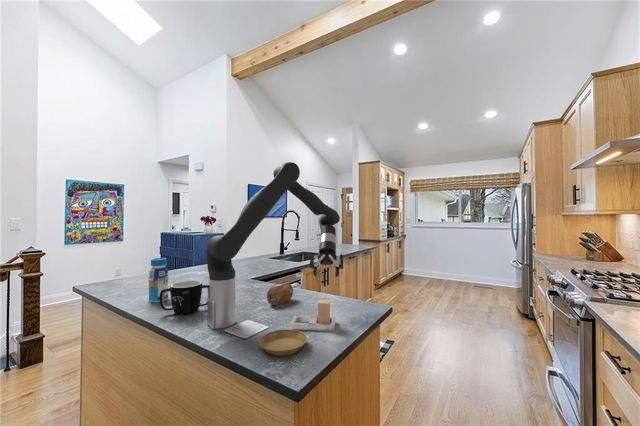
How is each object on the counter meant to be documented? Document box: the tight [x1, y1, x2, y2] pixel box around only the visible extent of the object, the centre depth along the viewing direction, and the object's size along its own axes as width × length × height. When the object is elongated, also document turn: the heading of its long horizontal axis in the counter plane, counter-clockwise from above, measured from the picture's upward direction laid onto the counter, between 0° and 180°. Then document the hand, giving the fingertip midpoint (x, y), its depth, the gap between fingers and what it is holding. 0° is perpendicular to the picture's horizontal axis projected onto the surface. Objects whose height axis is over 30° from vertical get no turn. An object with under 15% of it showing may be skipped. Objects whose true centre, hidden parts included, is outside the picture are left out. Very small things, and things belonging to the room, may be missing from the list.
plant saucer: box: [258, 328, 308, 357], centre depth 84 cm, size 15×15×3 cm
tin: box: [266, 282, 294, 307], centre depth 127 cm, size 15×3×8 cm, turn 143°
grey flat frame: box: [289, 315, 336, 332], centre depth 100 cm, size 16×8×2 cm, turn 85°
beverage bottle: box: [148, 257, 170, 303], centre depth 132 cm, size 8×8×20 cm
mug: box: [159, 280, 209, 316], centre depth 115 cm, size 16×16×12 cm
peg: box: [317, 299, 331, 324], centre depth 100 cm, size 4×4×9 cm
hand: (326, 276), depth 111 cm, fingers open, 8 cm apart
